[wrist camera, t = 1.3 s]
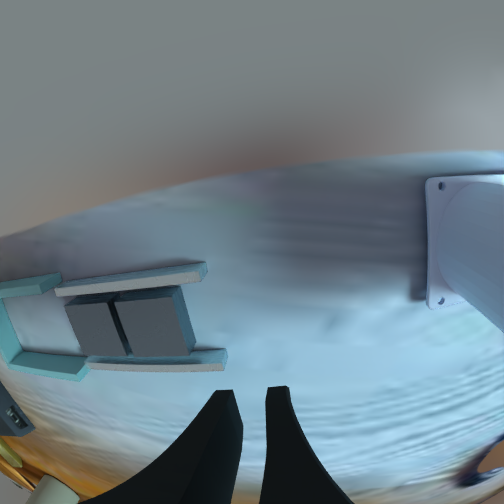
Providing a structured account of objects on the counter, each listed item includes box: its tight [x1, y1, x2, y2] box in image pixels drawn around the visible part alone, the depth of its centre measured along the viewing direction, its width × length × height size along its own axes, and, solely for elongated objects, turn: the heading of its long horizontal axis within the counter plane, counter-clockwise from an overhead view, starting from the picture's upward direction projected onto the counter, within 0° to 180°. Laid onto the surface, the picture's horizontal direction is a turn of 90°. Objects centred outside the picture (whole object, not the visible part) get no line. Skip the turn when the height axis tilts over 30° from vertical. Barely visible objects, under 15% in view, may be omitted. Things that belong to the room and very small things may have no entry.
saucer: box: [0, 437, 22, 467], centre depth 31 cm, size 9×9×2 cm
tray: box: [0, 273, 91, 382], centre depth 19 cm, size 11×8×2 cm
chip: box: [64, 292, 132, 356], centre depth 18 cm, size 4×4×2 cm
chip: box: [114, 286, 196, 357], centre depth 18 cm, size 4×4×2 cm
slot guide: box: [54, 262, 228, 372], centre depth 18 cm, size 11×7×2 cm, turn 100°
